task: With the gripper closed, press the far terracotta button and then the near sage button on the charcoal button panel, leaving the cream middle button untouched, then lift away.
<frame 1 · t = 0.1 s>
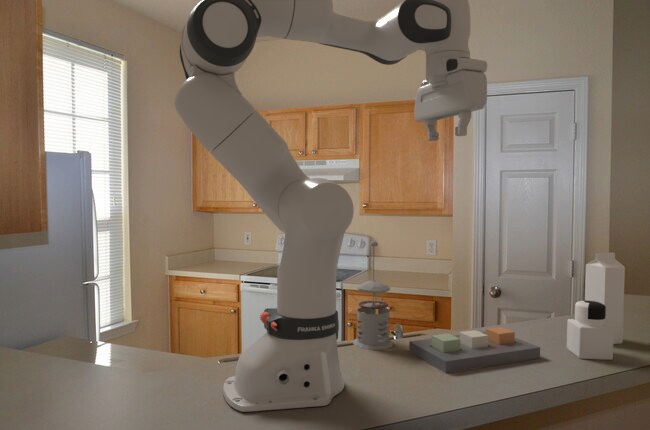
hand: (446, 138, 98), 48 cm above the countertop, fingers open, 8 cm apart
terracotta button: (500, 335, 109), point 4 cm above the countertop, slide at 0.0 cm
milk: (602, 341, 117), on the countertop
sage button: (445, 343, 104), point 4 cm above the countertop, slide at 0.0 cm
cream button: (473, 339, 107), point 4 cm above the countertop, slide at 0.0 cm
french press: (373, 343, 116), on the countertop
button panel: (473, 354, 107), on the countertop
medicine bottle: (588, 355, 107), on the countertop
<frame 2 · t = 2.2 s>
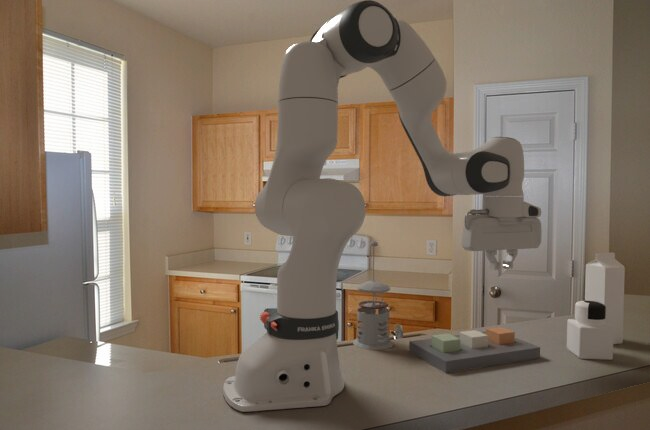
hand: (501, 269, 109), 19 cm above the countertop, fingers closed
nothing on the countertop moved.
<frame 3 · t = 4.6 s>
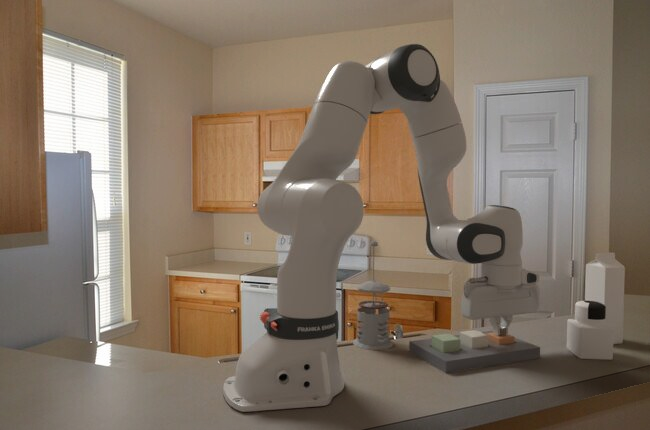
hand: (500, 334, 109), 4 cm above the countertop, fingers closed, pressing on terracotta button
terracotta button: (499, 340, 109), point 2 cm above the countertop, slide at 1.1 cm, touching gripper
everything else where it was.
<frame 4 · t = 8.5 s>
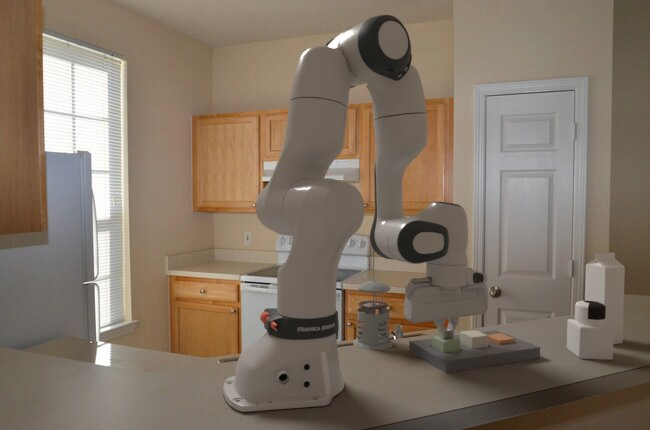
hand: (446, 337, 104), 5 cm above the countertop, fingers closed
terracotta button: (499, 342, 109), point 2 cm above the countertop, slide at 1.5 cm
sage button: (445, 344, 104), point 3 cm above the countertop, slide at 0.2 cm, touching gripper
everything else where it was.
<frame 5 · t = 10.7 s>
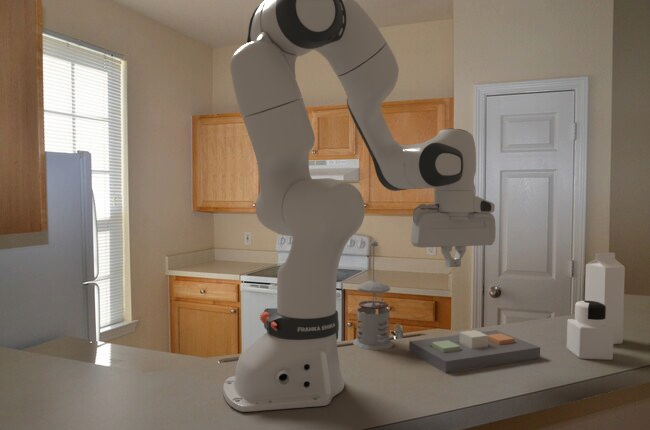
hand: (453, 266, 104), 20 cm above the countertop, fingers closed
sage button: (445, 350, 104), point 2 cm above the countertop, slide at 1.6 cm
everything else where it was.
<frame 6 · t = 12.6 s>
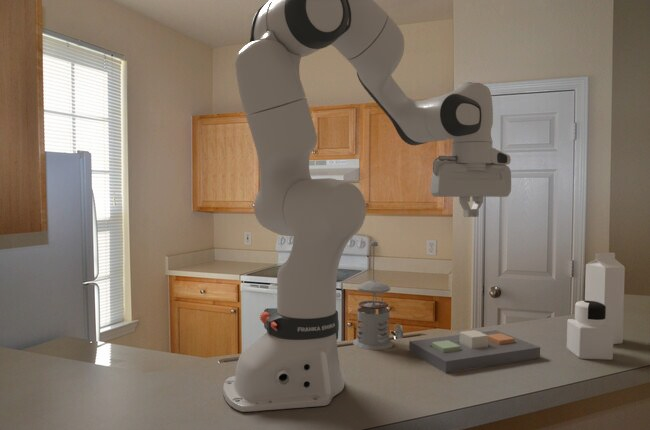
hand: (470, 216, 109), 31 cm above the countertop, fingers closed
nothing on the countertop moved.
at the end: terracotta button slide at 1.5 cm; sage button slide at 1.6 cm; cream button slide at 0.0 cm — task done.
